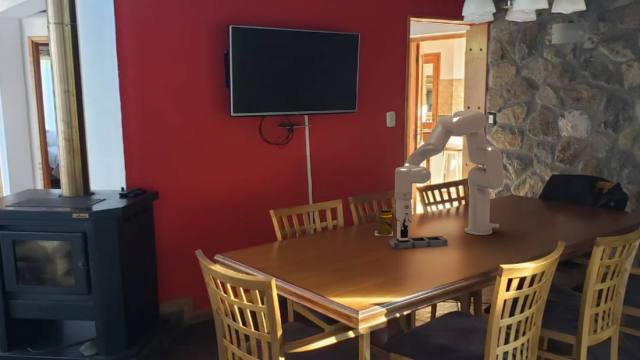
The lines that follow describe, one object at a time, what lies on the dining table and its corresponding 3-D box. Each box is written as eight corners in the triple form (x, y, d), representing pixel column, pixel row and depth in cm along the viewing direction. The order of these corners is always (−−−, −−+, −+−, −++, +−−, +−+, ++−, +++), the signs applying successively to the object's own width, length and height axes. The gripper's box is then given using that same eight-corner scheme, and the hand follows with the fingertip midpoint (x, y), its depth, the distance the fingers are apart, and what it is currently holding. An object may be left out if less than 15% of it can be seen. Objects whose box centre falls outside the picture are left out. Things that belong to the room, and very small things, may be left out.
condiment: (393, 235, 267) (393, 211, 265) (374, 235, 268) (375, 210, 266) (392, 231, 274) (392, 207, 272) (374, 231, 275) (375, 207, 273)
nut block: (405, 237, 252) (405, 219, 250) (408, 239, 248) (408, 221, 246) (396, 237, 251) (397, 219, 250) (399, 240, 247) (399, 221, 246)
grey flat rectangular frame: (441, 241, 257) (441, 235, 256) (447, 246, 249) (447, 240, 248) (389, 243, 253) (389, 238, 253) (394, 248, 245) (394, 243, 245)
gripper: (417, 199, 239) (416, 241, 242) (406, 192, 255) (405, 231, 258) (400, 199, 238) (399, 242, 241) (390, 192, 254) (389, 232, 257)
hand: (402, 236), depth 249 cm, fingers closed on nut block, 4 cm apart
